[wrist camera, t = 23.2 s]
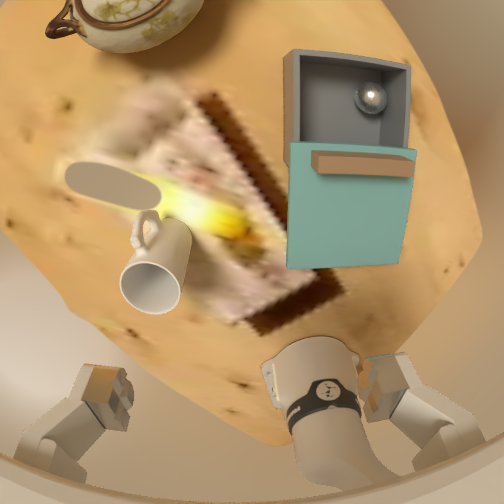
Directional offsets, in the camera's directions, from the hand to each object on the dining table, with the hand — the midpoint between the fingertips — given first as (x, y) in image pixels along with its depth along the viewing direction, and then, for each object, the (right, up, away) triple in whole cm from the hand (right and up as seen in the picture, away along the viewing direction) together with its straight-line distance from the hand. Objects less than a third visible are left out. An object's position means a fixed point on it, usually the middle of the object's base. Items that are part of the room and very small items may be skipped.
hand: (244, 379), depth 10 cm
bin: (+11, +21, +24) cm, 34 cm away
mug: (-11, +7, +31) cm, 34 cm away
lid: (+11, +9, +23) cm, 27 cm away
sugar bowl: (-12, +34, +17) cm, 40 cm away
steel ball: (+12, +22, +21) cm, 32 cm away
